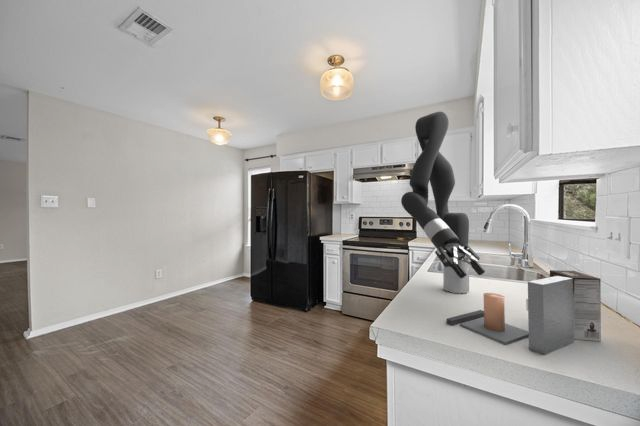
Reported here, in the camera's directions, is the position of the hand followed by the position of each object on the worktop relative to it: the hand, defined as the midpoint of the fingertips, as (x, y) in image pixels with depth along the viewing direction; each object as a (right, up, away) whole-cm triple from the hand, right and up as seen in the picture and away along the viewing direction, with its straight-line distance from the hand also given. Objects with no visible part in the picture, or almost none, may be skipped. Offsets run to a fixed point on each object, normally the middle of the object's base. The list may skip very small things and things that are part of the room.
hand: (473, 275), depth 76 cm
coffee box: (+23, -14, -7) cm, 28 cm away
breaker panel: (+11, -14, -14) cm, 22 cm away
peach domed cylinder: (+2, -13, -6) cm, 15 cm away
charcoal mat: (+2, -14, -6) cm, 15 cm away
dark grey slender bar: (-1, -14, +1) cm, 15 cm away
